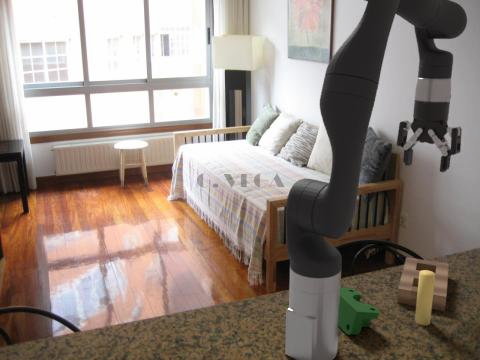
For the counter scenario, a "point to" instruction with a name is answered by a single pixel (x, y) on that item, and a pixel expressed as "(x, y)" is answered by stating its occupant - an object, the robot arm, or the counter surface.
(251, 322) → the counter surface
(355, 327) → the clamp
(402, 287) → the hole block
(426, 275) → the peg
